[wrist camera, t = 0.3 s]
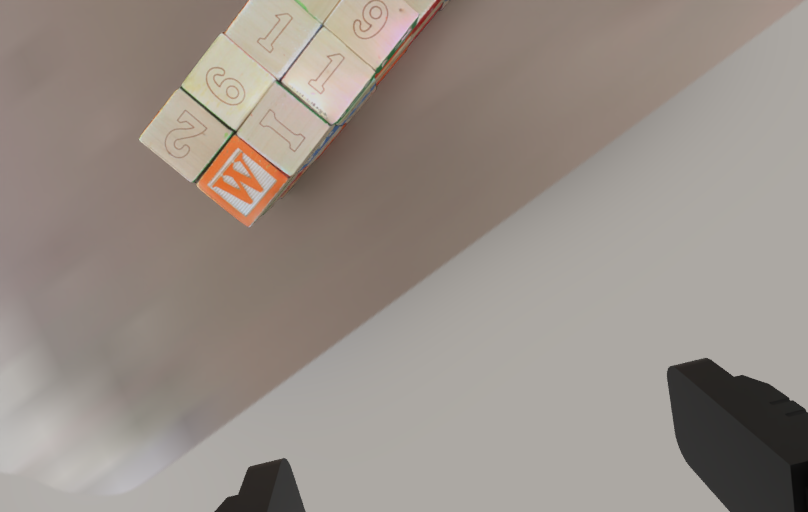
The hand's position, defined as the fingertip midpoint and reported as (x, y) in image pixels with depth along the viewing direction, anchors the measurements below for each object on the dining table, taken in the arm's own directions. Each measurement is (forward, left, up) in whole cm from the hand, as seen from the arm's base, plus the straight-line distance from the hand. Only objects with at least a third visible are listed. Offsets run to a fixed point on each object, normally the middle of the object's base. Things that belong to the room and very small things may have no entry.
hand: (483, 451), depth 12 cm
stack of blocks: (-12, -2, -29) cm, 31 cm away
